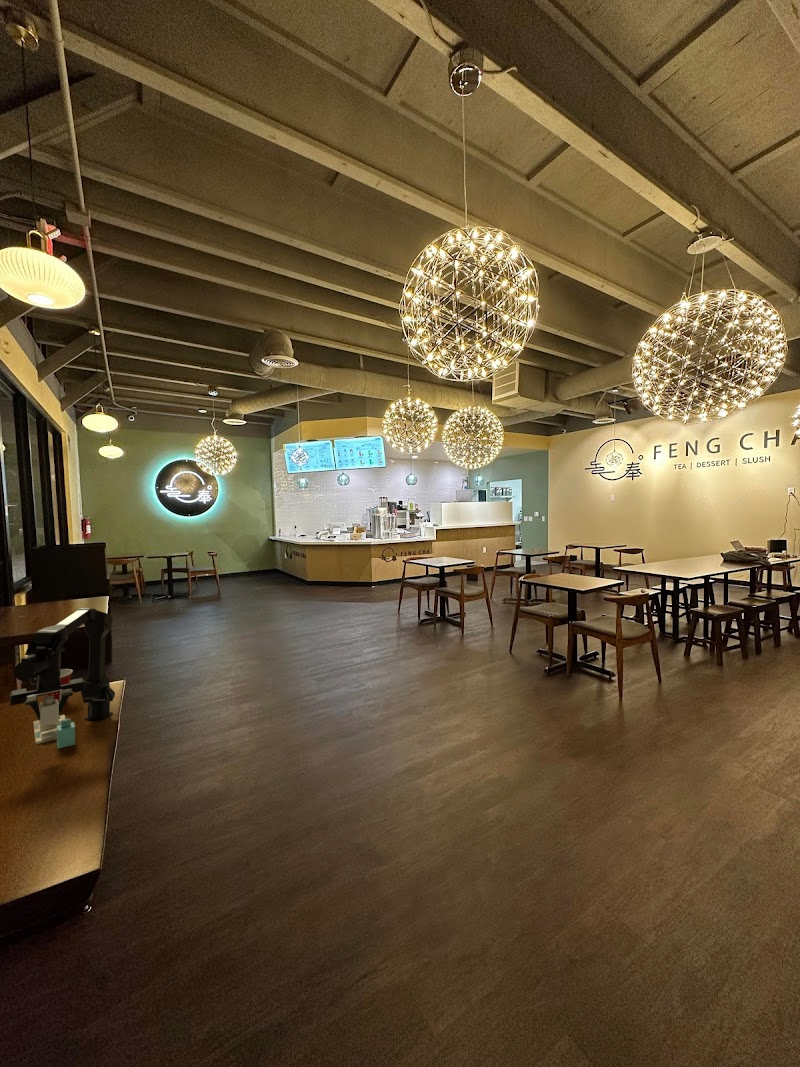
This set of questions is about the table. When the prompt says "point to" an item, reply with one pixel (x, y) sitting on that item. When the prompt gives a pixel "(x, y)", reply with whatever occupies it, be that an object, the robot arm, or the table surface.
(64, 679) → the plastic cup
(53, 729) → the backplate with mounted blocks
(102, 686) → the robot arm
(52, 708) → the grey plug
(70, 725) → the teal plug
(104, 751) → the table surface
